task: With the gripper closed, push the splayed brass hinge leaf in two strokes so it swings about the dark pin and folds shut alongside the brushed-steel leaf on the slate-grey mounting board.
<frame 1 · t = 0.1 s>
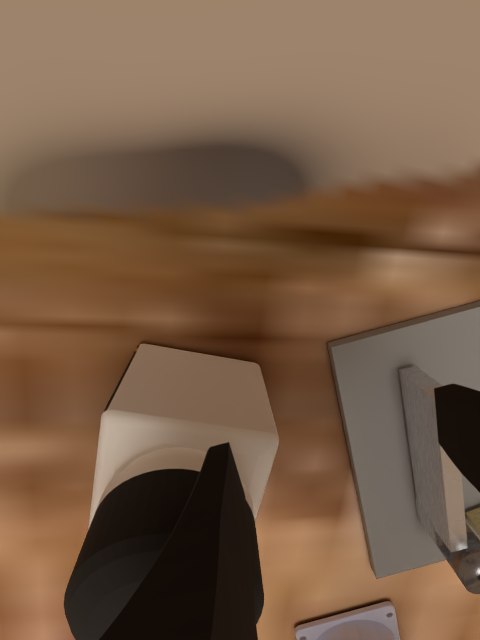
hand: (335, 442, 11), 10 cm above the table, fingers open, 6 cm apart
medicine bottle: (190, 402, 22), on the table, touching gripper
fixed leaf: (429, 505, 25), resting on board
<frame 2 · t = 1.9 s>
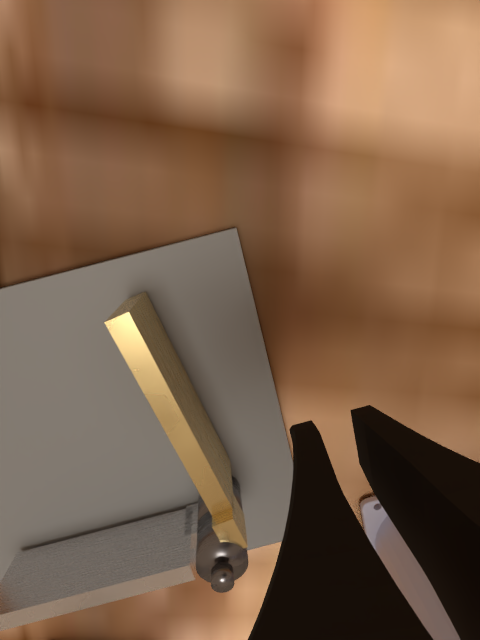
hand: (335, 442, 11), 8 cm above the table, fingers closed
swing leaf: (177, 441, 16), point 3 cm above the table, hinge at 8.0°
board: (112, 439, 20), on the table
fixed leaf: (219, 479, 21), resting on board
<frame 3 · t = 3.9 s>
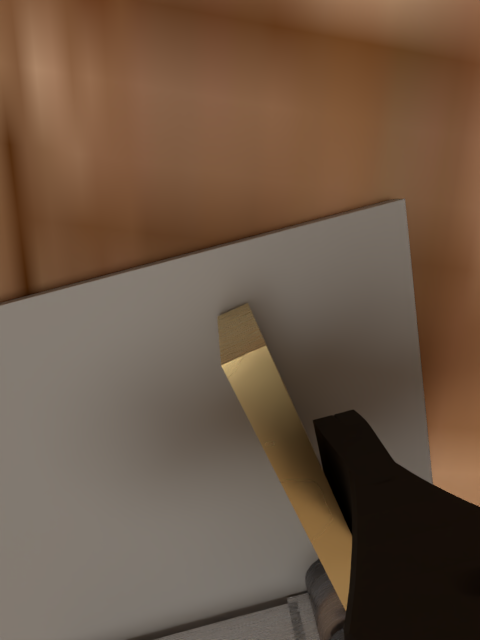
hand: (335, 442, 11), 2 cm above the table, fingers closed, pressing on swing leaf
swing leaf: (304, 534, 11), point 3 cm above the table, hinge at 9.8°, touching gripper
board: (185, 508, 14), on the table
fixed leaf: (327, 557, 15), resting on board
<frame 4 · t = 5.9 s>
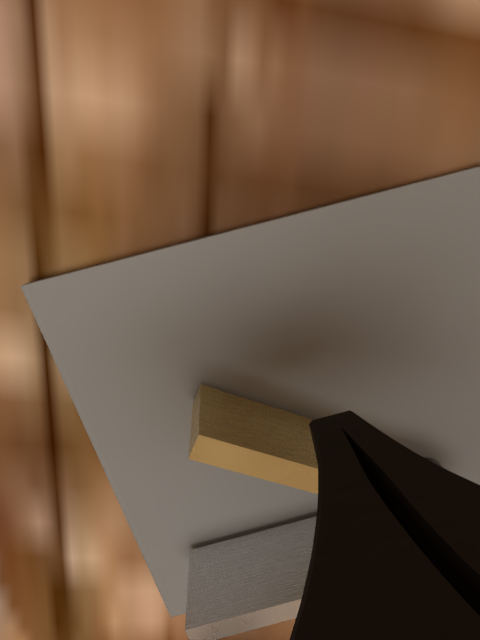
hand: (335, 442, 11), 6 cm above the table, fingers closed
swing leaf: (343, 484, 14), point 3 cm above the table, hinge at 54.2°
board: (303, 419, 17), on the table
fixed leaf: (410, 466, 19), resting on board
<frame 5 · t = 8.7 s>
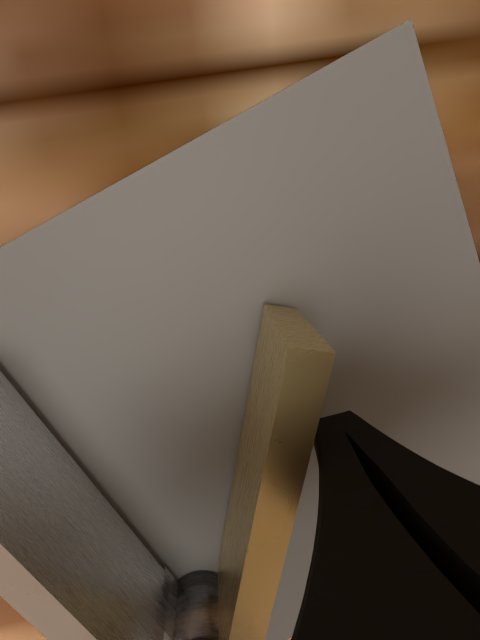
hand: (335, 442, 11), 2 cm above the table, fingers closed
swing leaf: (225, 540, 10), point 3 cm above the table, hinge at 54.2°, touching gripper
board: (243, 439, 13), on the table
fixed leaf: (201, 572, 15), resting on board
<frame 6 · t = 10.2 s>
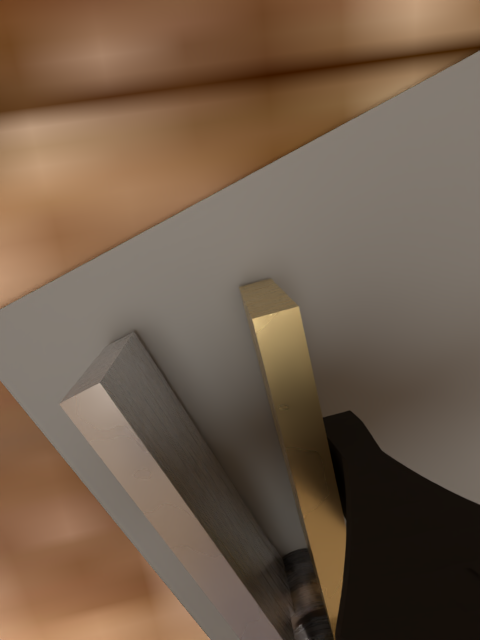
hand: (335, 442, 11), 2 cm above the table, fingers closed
swing leaf: (290, 515, 11), point 3 cm above the table, hinge at 77.4°, touching gripper
board: (350, 418, 14), on the table
fixed leaf: (298, 553, 15), resting on board
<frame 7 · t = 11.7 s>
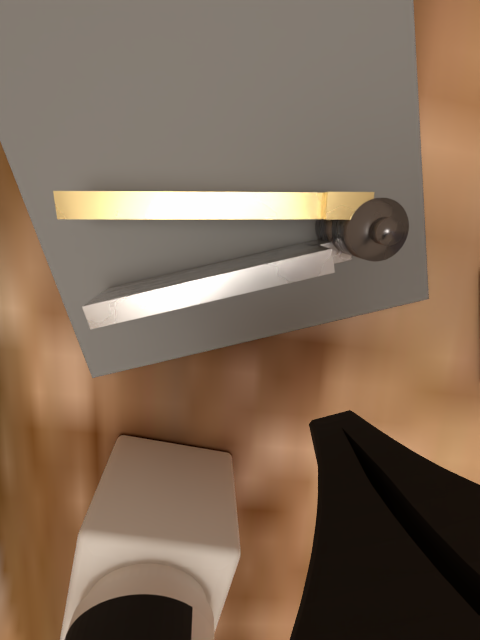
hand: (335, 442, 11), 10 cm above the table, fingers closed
medicine bottle: (166, 485, 23), on the table
swing leaf: (233, 225, 15), point 3 cm above the table, hinge at 77.6°
board: (221, 155, 17), on the table
fixed leaf: (333, 225, 19), resting on board
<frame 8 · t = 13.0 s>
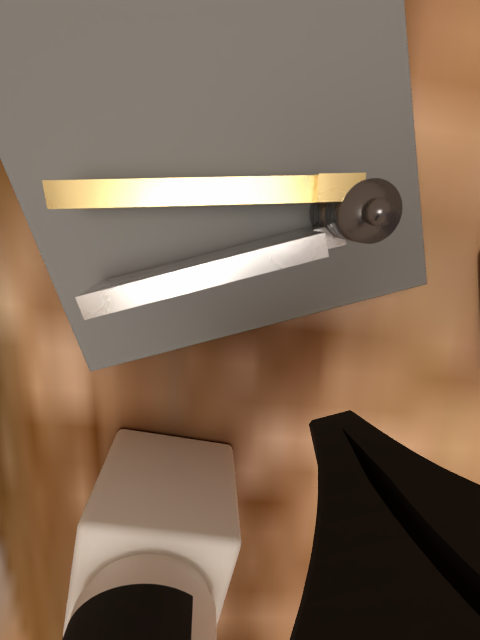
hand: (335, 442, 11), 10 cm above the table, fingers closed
medicine bottle: (167, 479, 23), on the table
swing leaf: (225, 212, 15), point 3 cm above the table, hinge at 77.6°
board: (213, 143, 17), on the table
fixed leaf: (327, 211, 18), resting on board
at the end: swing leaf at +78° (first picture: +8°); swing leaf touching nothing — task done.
